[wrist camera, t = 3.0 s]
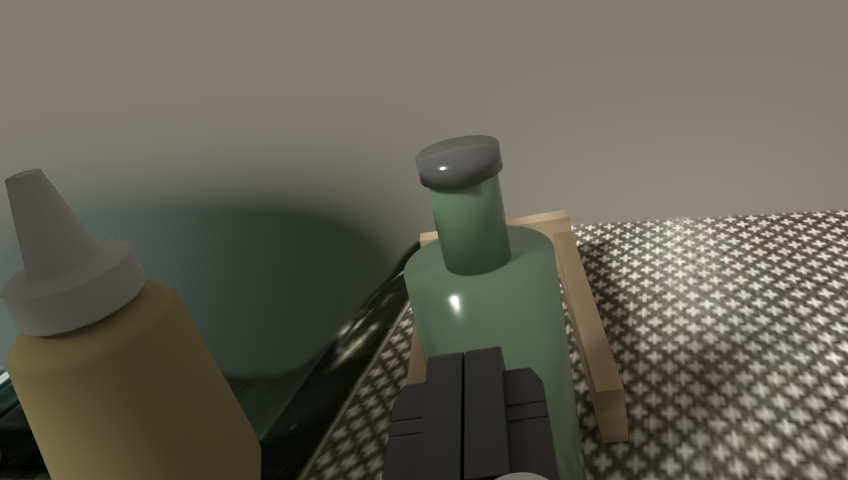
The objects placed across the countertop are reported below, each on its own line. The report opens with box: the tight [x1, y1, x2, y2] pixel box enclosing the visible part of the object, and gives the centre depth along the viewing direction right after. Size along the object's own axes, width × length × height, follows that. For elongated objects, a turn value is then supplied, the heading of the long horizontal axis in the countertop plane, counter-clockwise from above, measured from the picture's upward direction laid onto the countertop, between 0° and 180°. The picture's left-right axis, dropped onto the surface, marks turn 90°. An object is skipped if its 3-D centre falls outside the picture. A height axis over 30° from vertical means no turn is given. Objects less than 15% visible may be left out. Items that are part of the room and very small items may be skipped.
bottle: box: [404, 135, 587, 480], centre depth 26 cm, size 5×5×16 cm
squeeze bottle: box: [1, 169, 261, 480], centre depth 27 cm, size 8×8×18 cm
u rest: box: [406, 210, 629, 444], centre depth 39 cm, size 10×18×4 cm, turn 176°
